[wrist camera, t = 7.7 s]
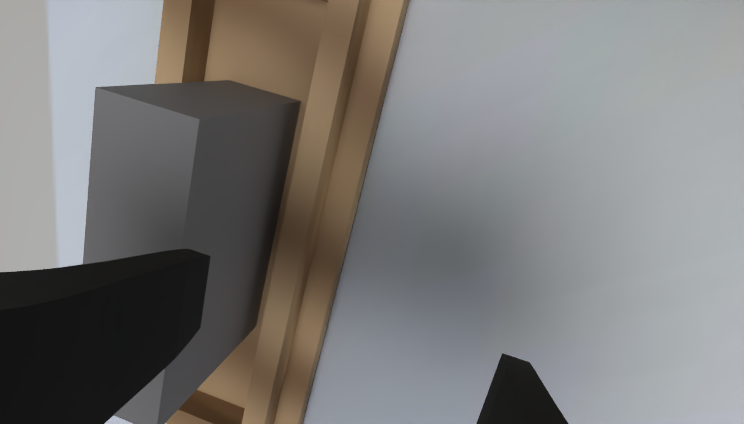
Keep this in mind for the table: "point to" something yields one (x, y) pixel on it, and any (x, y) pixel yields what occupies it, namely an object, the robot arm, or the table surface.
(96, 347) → the robot arm
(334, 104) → the wooden tray
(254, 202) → the grey rectangular prism
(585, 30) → the table surface
